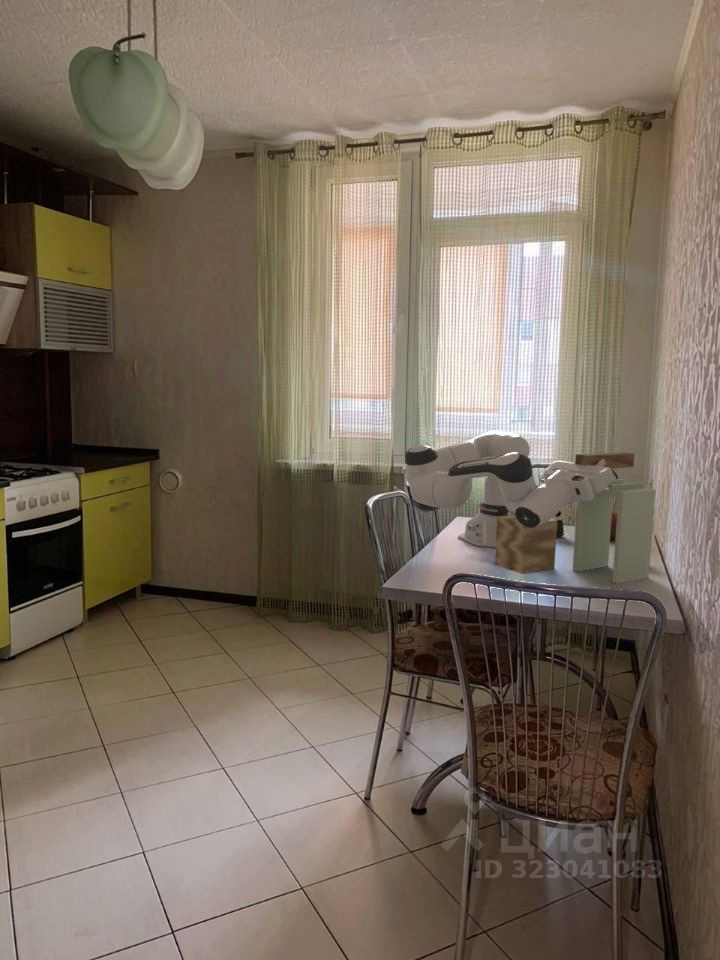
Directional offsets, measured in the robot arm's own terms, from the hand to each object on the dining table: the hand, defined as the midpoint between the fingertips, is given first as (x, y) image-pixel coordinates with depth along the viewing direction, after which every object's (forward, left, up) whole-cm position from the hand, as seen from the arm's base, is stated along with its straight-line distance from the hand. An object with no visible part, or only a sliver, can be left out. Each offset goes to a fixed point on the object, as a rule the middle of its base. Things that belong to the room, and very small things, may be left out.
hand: (595, 459), depth 203 cm
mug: (-33, +52, -35) cm, 71 cm away
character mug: (-46, +36, -35) cm, 68 cm away
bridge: (0, +10, -34) cm, 36 cm away
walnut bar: (0, +4, -2) cm, 5 cm away
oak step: (-18, -7, -34) cm, 40 cm away
